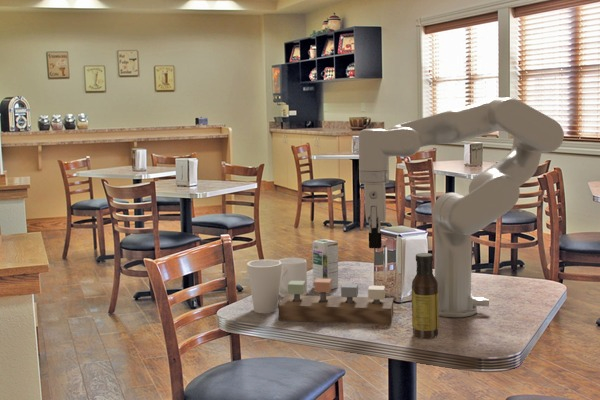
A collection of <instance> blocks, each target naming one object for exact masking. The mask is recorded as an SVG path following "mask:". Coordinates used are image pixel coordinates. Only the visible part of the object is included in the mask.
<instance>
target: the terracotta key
mask: <svg viewBox="0 0 600 400" xmlns="http://www.w3.org/2000/svg"><path fill="white" fill-rule="evenodd" d="M313 289H314V292H315V293H319V296H320V302H323V303H326V296H327V293H330V292H331V291H332V290H333V289H332V279H320V278H317V279H316V280H315V282H314V288H313Z"/></svg>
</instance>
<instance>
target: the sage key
mask: <svg viewBox="0 0 600 400" xmlns="http://www.w3.org/2000/svg"><path fill="white" fill-rule="evenodd" d="M305 291H306V285H305V281H290V282H289V283H288V294H294V302H300V294H304V292H305Z"/></svg>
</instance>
